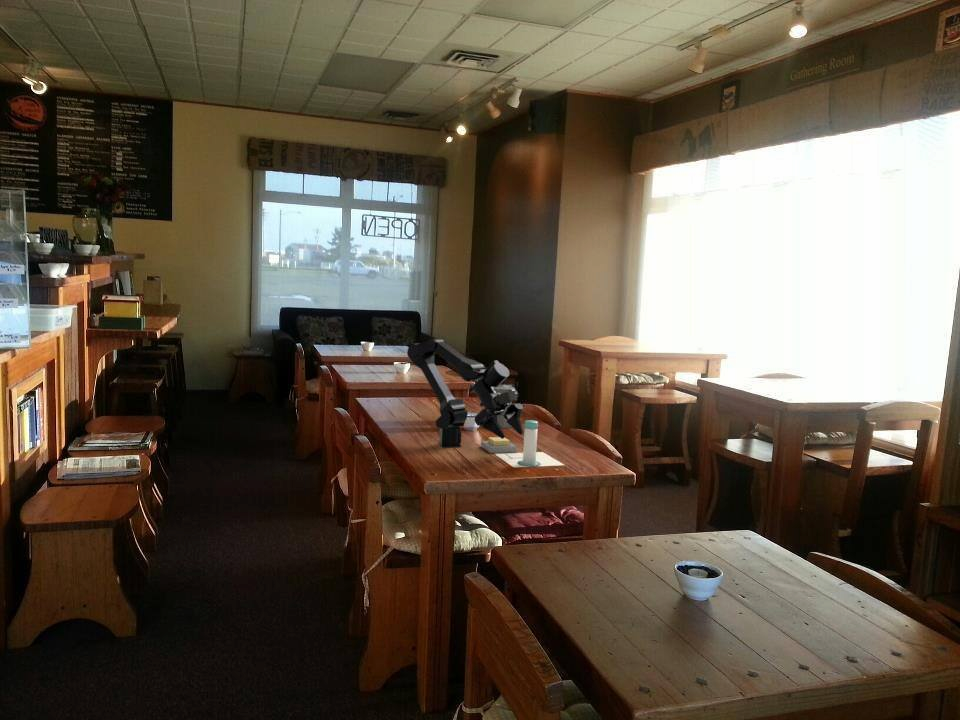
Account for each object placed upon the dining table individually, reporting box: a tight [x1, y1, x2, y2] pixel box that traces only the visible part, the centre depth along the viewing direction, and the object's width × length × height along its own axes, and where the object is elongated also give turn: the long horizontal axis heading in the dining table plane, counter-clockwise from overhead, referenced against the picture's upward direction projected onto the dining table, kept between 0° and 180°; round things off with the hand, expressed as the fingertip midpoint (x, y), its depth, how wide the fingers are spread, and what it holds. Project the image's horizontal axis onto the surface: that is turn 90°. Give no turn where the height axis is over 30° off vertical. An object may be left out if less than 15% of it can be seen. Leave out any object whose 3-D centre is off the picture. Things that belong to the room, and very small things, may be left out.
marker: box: [522, 419, 539, 465], centre depth 235 cm, size 4×4×13 cm
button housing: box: [480, 440, 517, 454], centre depth 253 cm, size 9×9×2 cm
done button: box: [487, 436, 511, 446], centre depth 252 cm, size 5×5×2 cm
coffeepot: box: [493, 379, 516, 429], centre depth 294 cm, size 15×9×18 cm, turn 147°
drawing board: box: [494, 451, 565, 468], centre depth 241 cm, size 18×18×1 cm
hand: (513, 435), depth 239 cm, fingers open, 9 cm apart
